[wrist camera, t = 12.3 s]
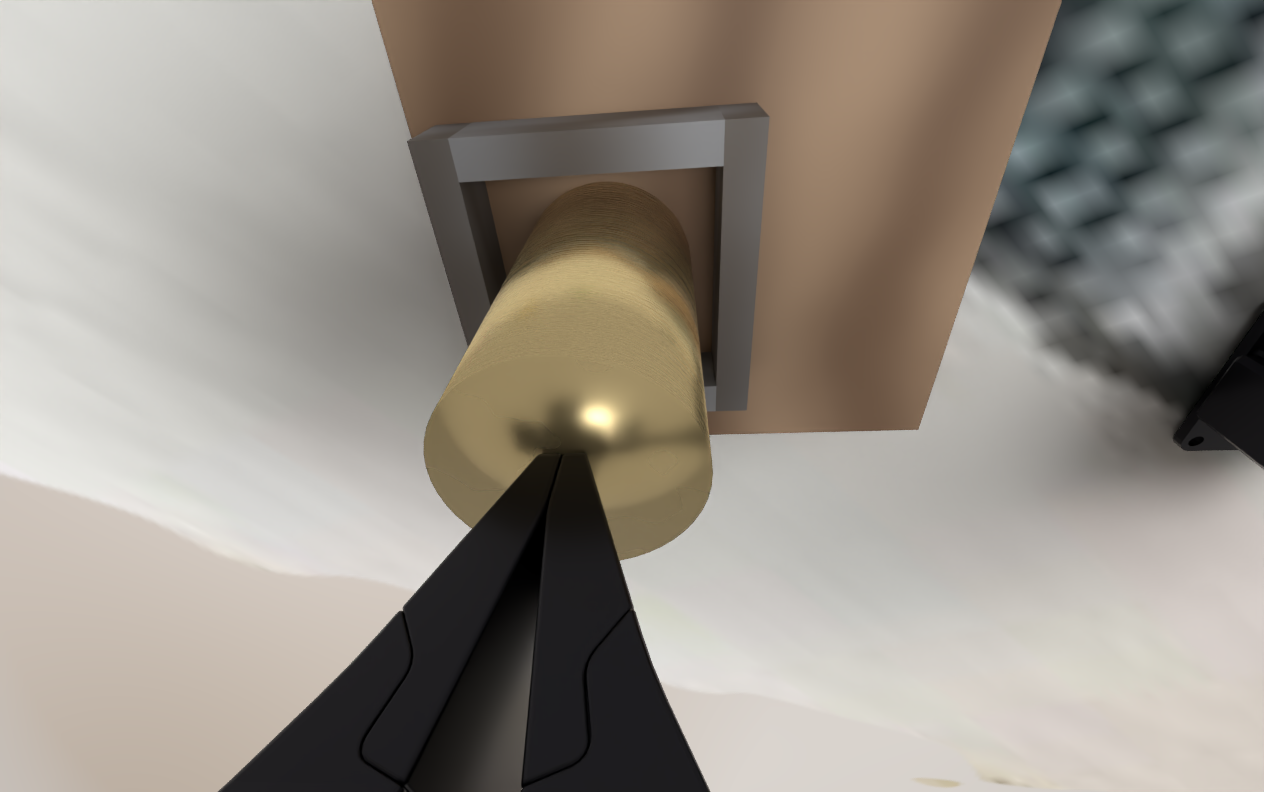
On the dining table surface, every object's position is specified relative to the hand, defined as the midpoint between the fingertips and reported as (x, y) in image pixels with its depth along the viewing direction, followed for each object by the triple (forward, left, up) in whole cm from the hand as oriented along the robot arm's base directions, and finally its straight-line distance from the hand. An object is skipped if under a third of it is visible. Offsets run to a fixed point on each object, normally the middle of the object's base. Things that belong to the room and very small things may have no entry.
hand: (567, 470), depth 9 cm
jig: (-3, 0, -11) cm, 11 cm away
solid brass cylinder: (0, 0, -9) cm, 9 cm away
